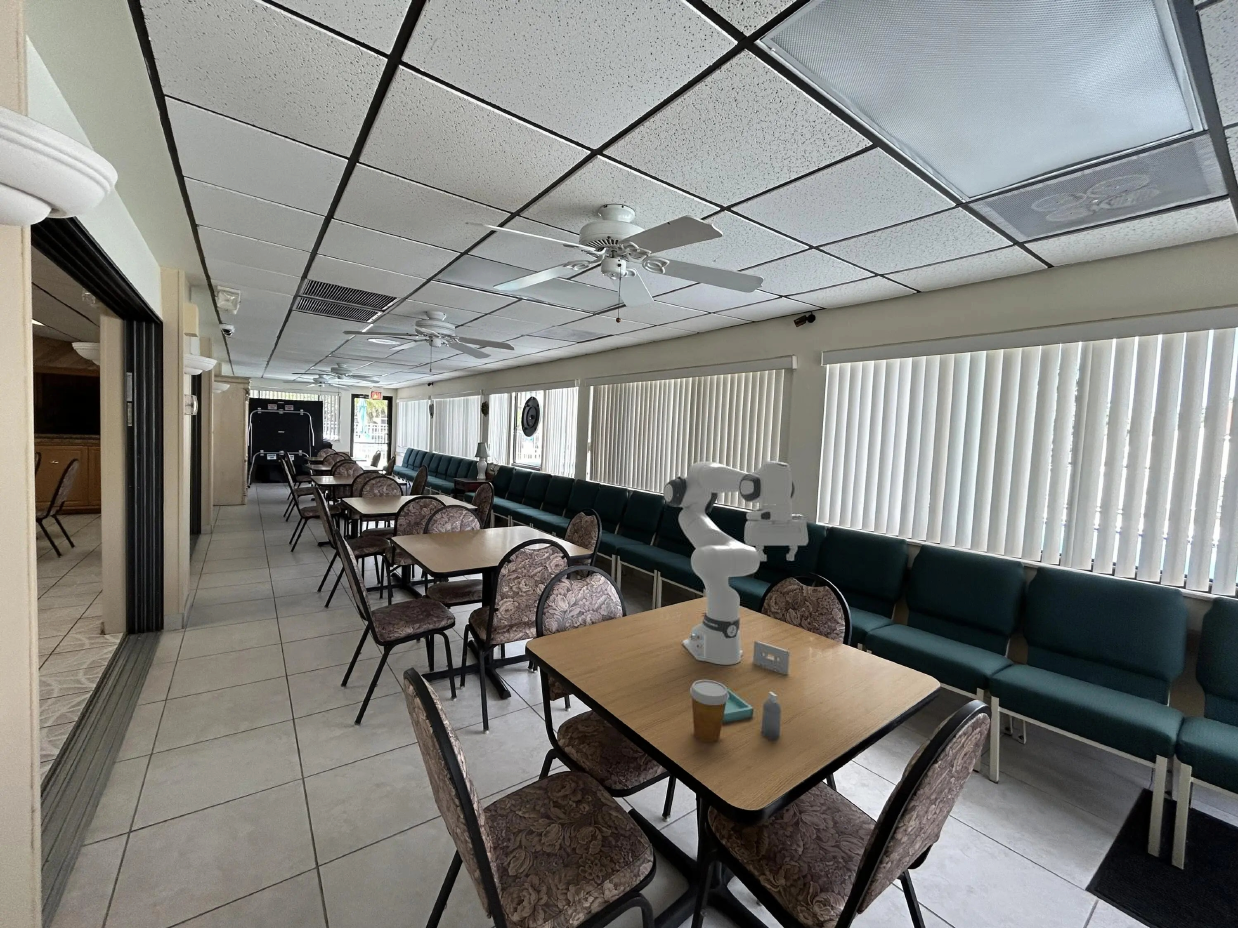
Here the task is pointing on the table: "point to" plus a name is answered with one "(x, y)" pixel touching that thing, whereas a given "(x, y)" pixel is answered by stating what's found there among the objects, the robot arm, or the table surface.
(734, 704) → the tray
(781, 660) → the cassette
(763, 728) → the gray bottle
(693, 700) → the disposable coffee cup
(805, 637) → the table surface
